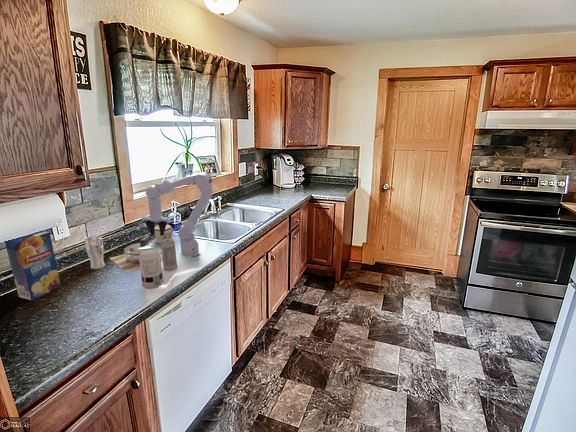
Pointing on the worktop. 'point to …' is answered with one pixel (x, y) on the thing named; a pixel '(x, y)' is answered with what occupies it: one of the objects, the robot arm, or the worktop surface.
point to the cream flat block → (132, 259)
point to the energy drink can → (169, 254)
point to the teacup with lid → (167, 233)
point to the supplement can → (150, 268)
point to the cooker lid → (139, 246)
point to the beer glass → (95, 251)
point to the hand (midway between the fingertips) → (157, 235)
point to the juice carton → (33, 264)
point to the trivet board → (124, 264)
